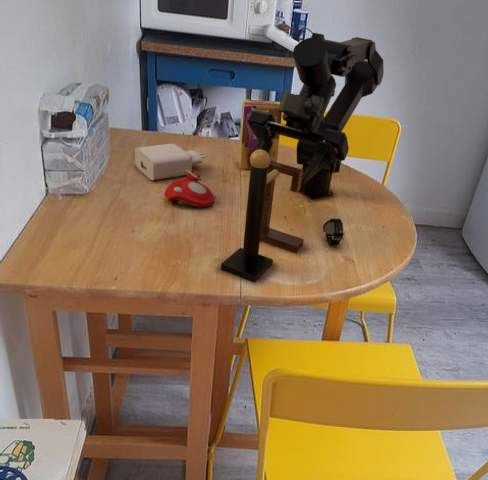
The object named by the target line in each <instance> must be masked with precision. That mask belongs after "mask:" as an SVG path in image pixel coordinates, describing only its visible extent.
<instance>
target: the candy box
mask: <svg viewBox="0 0 488 480" xmlns="http://www.w3.org/2000/svg"><path fill="white" fill-rule="evenodd" d="M280 102H281V101H275V100H260V99H259V100H258V99H245V98H244V99H242V102H241V111H240V112H241V115H240V127H239V130H240V131H239V142H238V143H239V145H238V156H237V157H238V159H237V163H238V167H239V169H240V170H250V169H251V163H250V157H251V155H252V153H253V152H254V151H256V150H257V137H256V136H255V135H254V134H253V132H252V130H251V128H250V126H249V124H248V122H247V119H248V117H249V115H250V113H251V112H252V111H254V110H259V111H263V112H267V113H271V114H272V115H273V118H274V120H275V122H276V123H280V124H282V116H283V112H279V111H278V109H279V106H280ZM271 140H272V142H273V145H272V147H271V149H270V151H269V153H268V154H269V156H270V160H271V161H274V162H277V163H278V155H279V143H280V135H279V134H276V135H275V138H273V139H271Z"/></svg>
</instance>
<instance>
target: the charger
mask: <svg viewBox="0 0 488 480" xmlns="http://www.w3.org/2000/svg"><path fill="white" fill-rule="evenodd" d="M203 154H204V153H203V152H197V151H196V150H194V149H191V150H185V149H184V148H182V147H180V146H179V145H177V144H175V143H164V144H156V145H149V146H140V147H135V148H134V160H135V161H134V163H135V166H136V168H137V170H139V171H140V172H141V173H142V174H143V175H145V176H146V177H147V178H148V179H149V180H151V181H157V180H162V179H163V180H164V179H167V178H175V177H180V176H187V174H188V172H187V171H186V170H189V171H192V172H193V165H195V164H201V163H203V158H204V159H205V158H207V155H206V154H205V155H203Z"/></svg>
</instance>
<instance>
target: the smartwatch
mask: <svg viewBox="0 0 488 480" xmlns="http://www.w3.org/2000/svg"><path fill="white" fill-rule="evenodd" d="M343 225H344V223H343V222H342V219H341V218H329V220H326V222H324V223H323V225H322V230H323V233H325V239H326V241H327V245H328V246H336V247H337V246H339V245H340V244H341V241H342V240H343V238H344V235H345V234H344V226H343Z"/></svg>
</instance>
